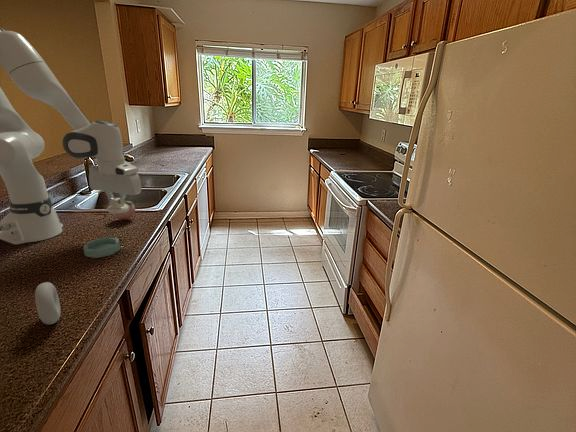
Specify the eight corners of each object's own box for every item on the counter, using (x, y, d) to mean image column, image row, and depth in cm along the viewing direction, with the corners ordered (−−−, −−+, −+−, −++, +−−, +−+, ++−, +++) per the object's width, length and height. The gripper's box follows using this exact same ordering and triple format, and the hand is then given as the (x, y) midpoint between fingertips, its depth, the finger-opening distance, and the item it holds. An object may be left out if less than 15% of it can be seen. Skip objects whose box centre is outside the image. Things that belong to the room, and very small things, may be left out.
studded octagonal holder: (77, 255, 107) (75, 248, 106) (102, 242, 117) (101, 235, 116) (103, 259, 104) (102, 252, 104) (127, 245, 114) (125, 239, 113)
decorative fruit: (109, 224, 133) (105, 201, 129) (117, 217, 140) (113, 196, 137) (133, 223, 134) (129, 201, 130) (139, 217, 141) (135, 195, 138)
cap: (103, 212, 118) (101, 200, 116) (117, 206, 124) (116, 195, 123) (119, 214, 116) (117, 203, 115) (132, 208, 123) (131, 197, 121)
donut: (46, 311, 79) (35, 276, 75) (62, 307, 81) (53, 273, 77) (42, 335, 71) (31, 298, 68) (61, 330, 73) (50, 293, 69)
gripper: (81, 166, 114) (87, 202, 119) (129, 171, 110) (134, 209, 114) (95, 163, 120) (101, 197, 125) (141, 168, 115) (145, 204, 120)
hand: (117, 203), depth 119 cm, fingers closed on cap, 2 cm apart
